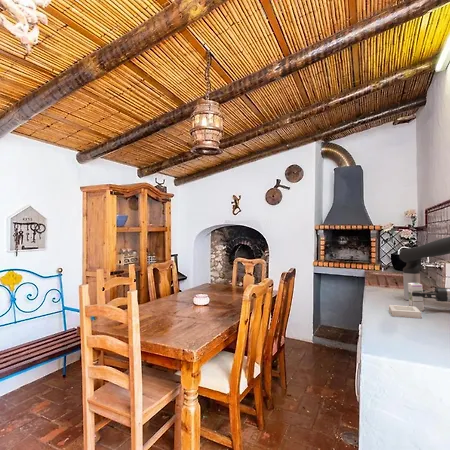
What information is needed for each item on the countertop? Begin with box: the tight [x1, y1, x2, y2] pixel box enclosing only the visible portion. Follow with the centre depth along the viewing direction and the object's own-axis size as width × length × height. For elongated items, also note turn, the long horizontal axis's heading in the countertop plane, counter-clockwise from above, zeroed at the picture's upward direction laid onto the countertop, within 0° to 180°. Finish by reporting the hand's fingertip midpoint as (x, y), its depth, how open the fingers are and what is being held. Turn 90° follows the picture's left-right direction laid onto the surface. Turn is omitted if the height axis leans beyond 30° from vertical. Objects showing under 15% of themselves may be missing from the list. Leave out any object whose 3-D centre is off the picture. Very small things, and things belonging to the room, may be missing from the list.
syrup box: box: [408, 283, 425, 312], centre depth 169 cm, size 6×6×14 cm
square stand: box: [388, 304, 423, 319], centre depth 159 cm, size 13×13×3 cm
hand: (411, 293), depth 170 cm, fingers closed on syrup box, 6 cm apart
